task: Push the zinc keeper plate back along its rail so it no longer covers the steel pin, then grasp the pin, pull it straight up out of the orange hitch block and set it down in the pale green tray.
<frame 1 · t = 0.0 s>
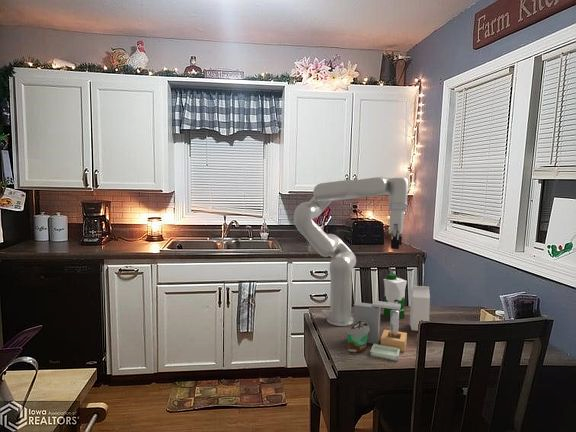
hand: (396, 246, 165), 37 cm above the table, tool pointing down, fingers open, 9 cm apart
hitch: (393, 345, 153), on the table
soya milk: (393, 316, 184), on the table
milk carton: (418, 328, 170), on the table
keeper plate: (387, 305, 152), point 16 cm above the table, slide at 0.0 cm
pin: (393, 345, 153), resting in hitch
food container: (360, 350, 149), on the table
tray: (385, 354, 145), on the table
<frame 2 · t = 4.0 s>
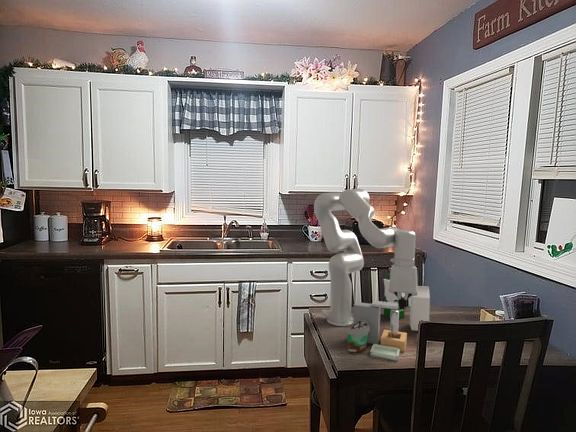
hand: (402, 308, 150), 15 cm above the table, tool pointing down, fingers closed
keeper plate: (385, 304, 153), point 16 cm above the table, slide at 0.8 cm, touching gripper
everything else where it was.
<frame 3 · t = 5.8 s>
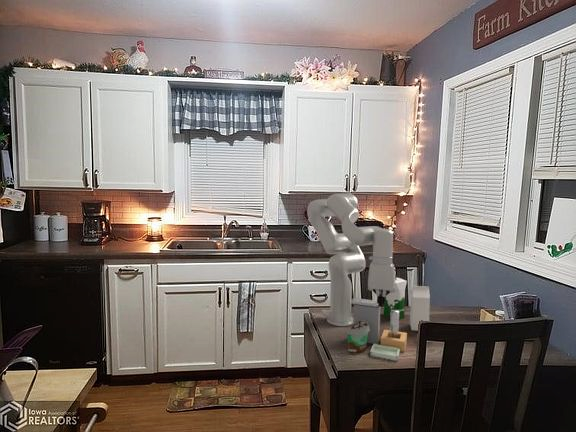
hand: (381, 305, 153), 16 cm above the table, tool pointing down, fingers closed
keeper plate: (364, 302, 156), point 16 cm above the table, slide at 9.0 cm, touching gripper
everything else where it was.
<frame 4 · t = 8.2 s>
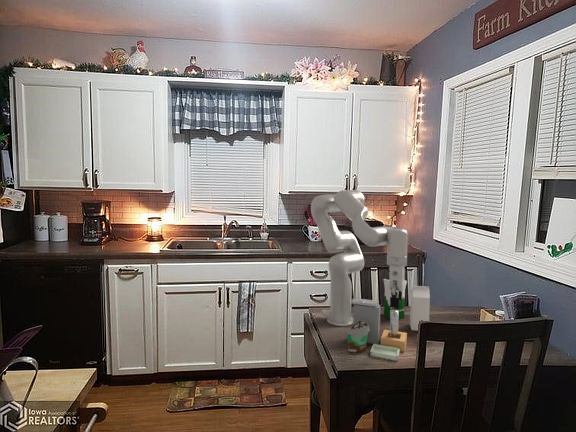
hand: (396, 303, 151), 17 cm above the table, tool pointing down, fingers open, 9 cm apart
keeper plate: (364, 302, 156), point 16 cm above the table, slide at 9.0 cm
everything else where it was.
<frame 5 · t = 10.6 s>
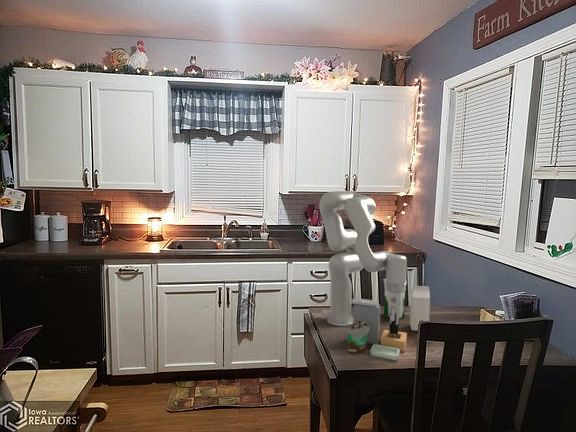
hand: (394, 331, 152), 6 cm above the table, tool pointing down, fingers closed on pin, 3 cm apart
pin: (393, 345, 153), resting in hitch, touching gripper
everything else where it was.
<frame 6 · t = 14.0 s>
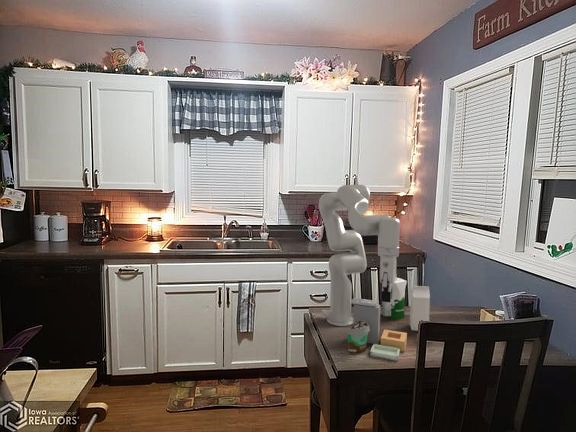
hand: (386, 299, 143), 21 cm above the table, tool pointing down, fingers closed on pin, 3 cm apart
pin: (386, 314, 143), point 16 cm above the table, touching gripper
everything else where it was.
when the fingers open (7 cm above the table, at t = 17.7 s): pin stays where it is, resting on tray.
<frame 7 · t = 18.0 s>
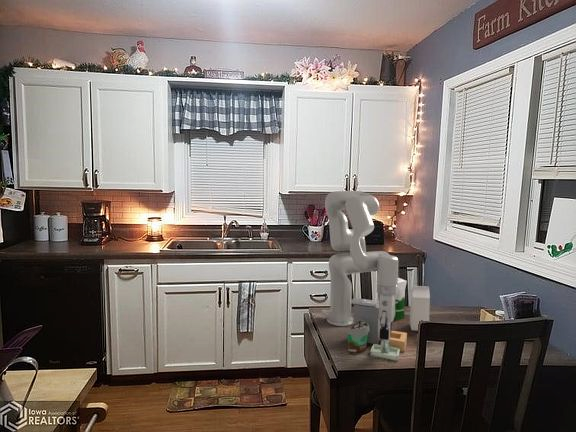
hand: (385, 334, 144), 8 cm above the table, tool pointing down, fingers open, 6 cm apart
pin: (385, 352, 145), point 1 cm above the table, touching tray
everything else where it was.
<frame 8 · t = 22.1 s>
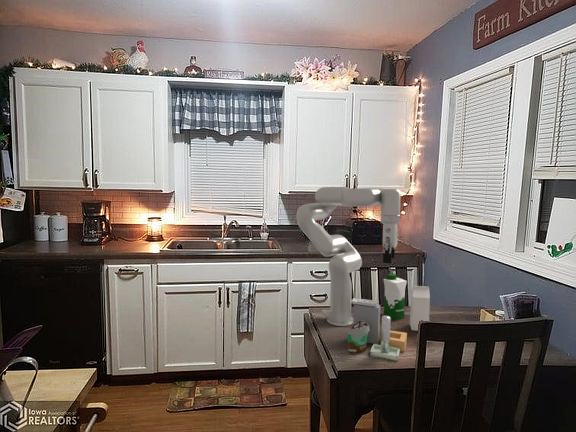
hand: (388, 260, 158), 32 cm above the table, tool pointing down, fingers open, 9 cm apart
nothing on the table moved.
at the end: pin inside the target area on the tray (0.1 cm from its centre), point 0.6 cm above the tray's base; keeper plate slide at 9.0 cm; the gripper is holding nothing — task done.
